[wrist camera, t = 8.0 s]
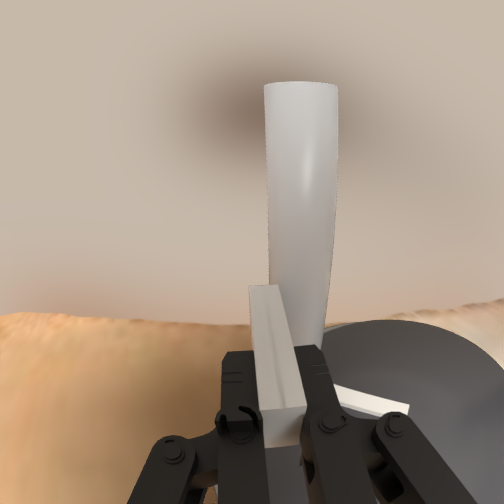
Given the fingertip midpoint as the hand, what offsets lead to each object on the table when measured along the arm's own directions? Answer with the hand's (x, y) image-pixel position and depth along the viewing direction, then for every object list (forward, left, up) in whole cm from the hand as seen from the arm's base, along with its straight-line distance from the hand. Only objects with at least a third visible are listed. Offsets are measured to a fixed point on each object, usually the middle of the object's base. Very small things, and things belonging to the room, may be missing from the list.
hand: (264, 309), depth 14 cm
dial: (-9, +3, -9) cm, 13 cm away
